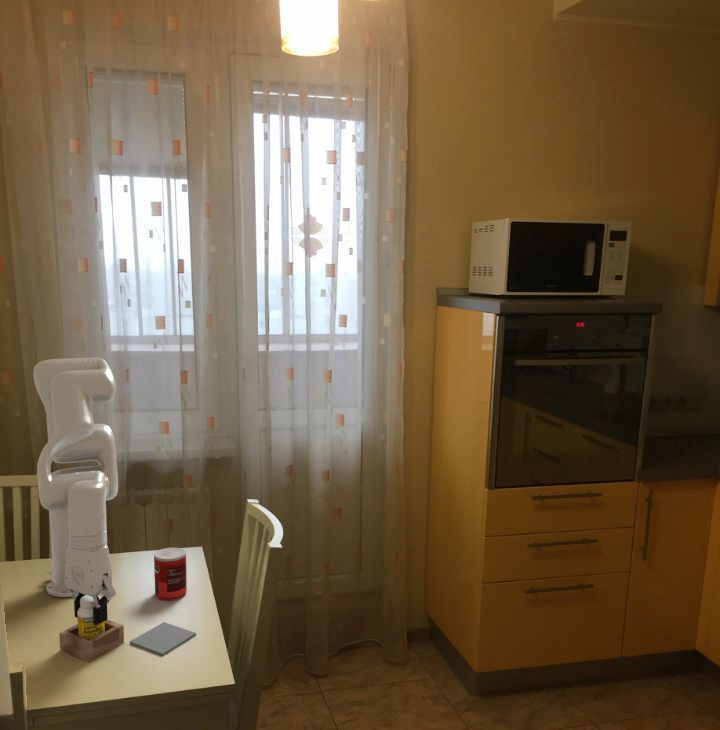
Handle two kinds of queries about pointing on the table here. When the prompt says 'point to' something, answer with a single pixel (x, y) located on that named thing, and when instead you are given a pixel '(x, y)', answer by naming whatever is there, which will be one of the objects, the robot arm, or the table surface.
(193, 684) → the table surface
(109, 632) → the sleeve holder
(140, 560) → the table surface
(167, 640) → the rubber mat
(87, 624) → the supplement bottle
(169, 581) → the canned food
